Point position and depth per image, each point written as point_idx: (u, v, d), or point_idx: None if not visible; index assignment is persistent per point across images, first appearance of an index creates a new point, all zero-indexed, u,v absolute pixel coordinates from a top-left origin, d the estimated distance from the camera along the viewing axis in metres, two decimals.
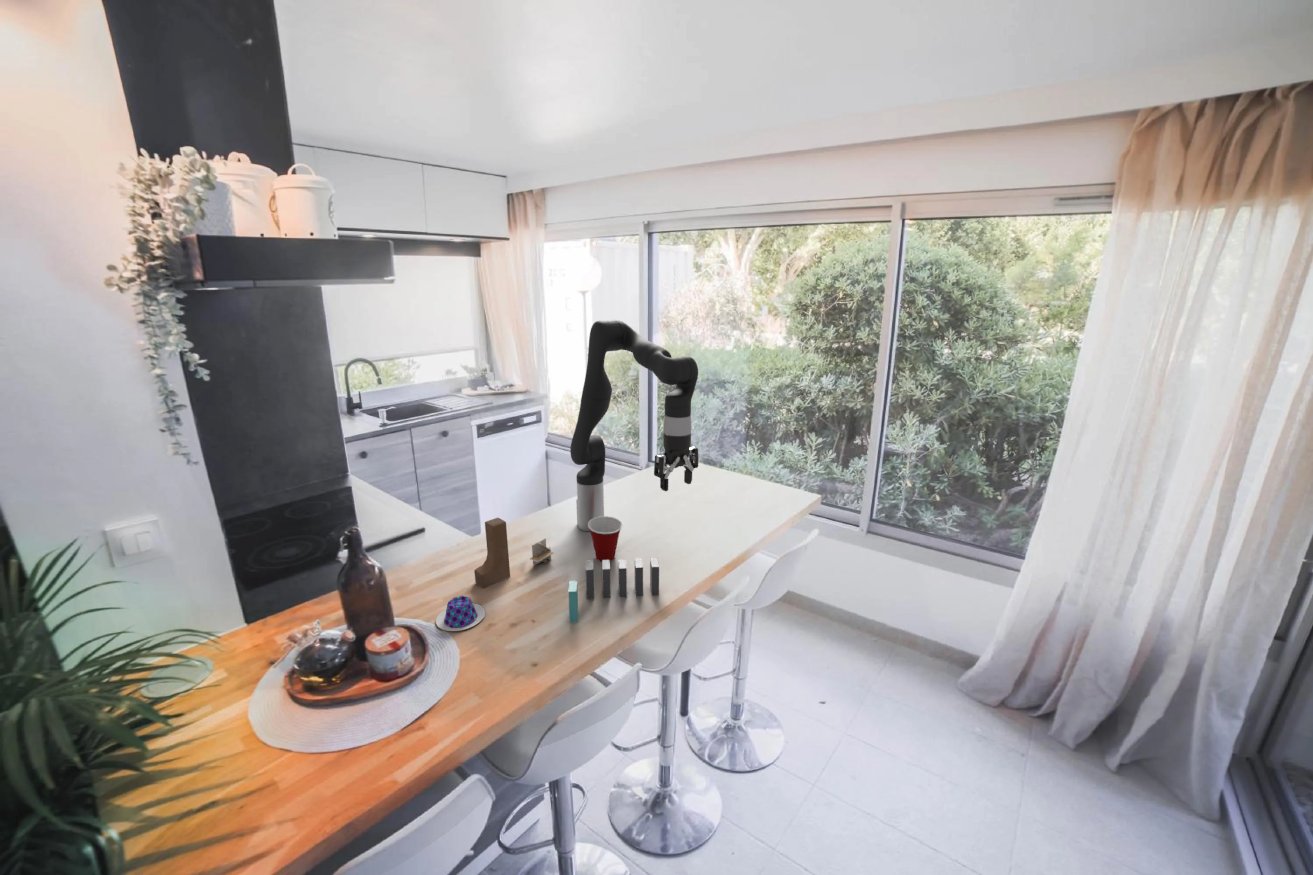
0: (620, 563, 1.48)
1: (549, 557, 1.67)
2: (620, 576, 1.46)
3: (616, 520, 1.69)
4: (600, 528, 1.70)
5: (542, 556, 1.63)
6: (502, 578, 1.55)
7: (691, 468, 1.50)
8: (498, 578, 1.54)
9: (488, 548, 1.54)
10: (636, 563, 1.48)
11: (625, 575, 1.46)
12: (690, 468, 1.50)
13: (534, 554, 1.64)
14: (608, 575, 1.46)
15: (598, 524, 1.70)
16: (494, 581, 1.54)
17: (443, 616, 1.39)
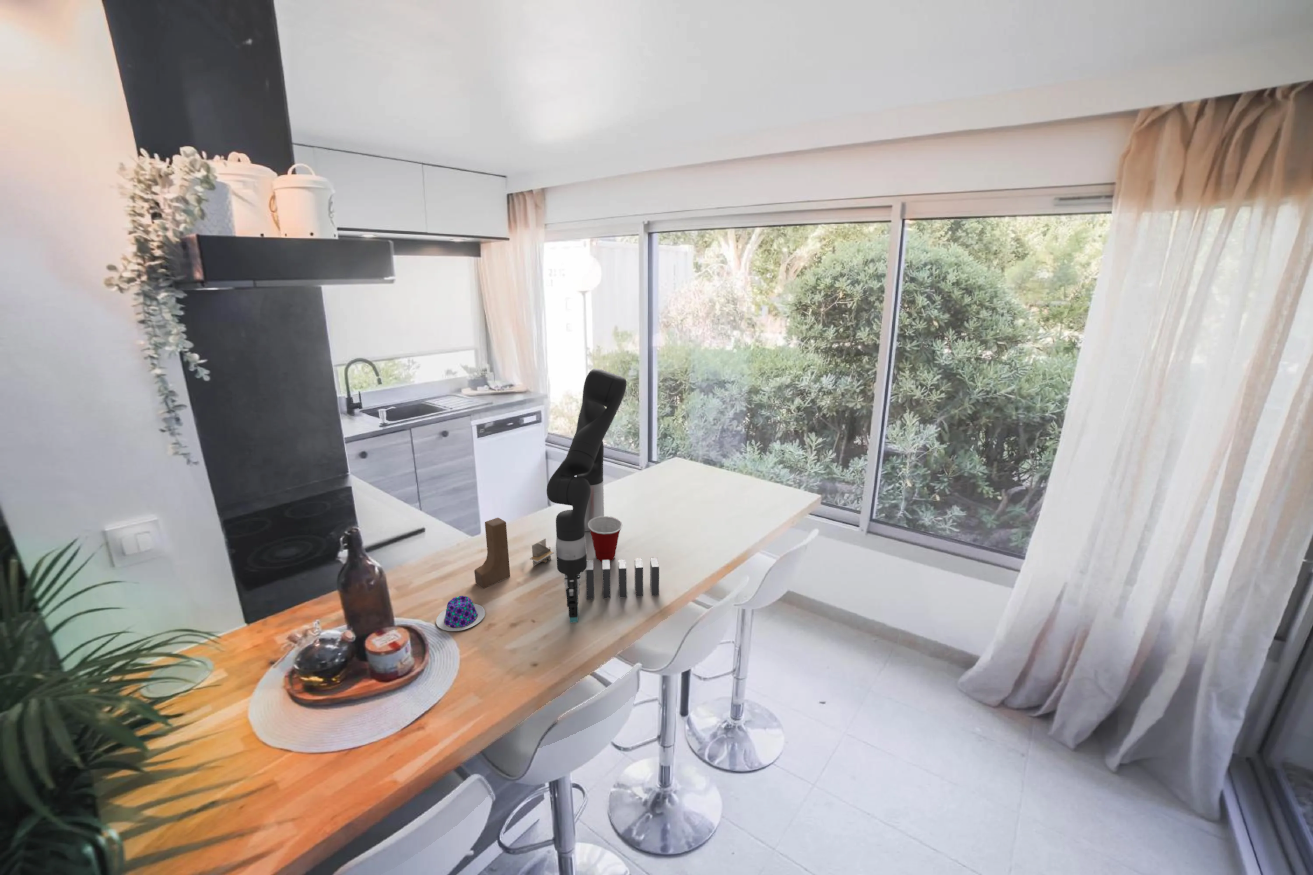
0: (620, 563, 1.48)
1: (549, 557, 1.67)
2: (620, 576, 1.46)
3: (616, 520, 1.69)
4: (600, 528, 1.70)
5: (542, 556, 1.63)
6: (502, 578, 1.55)
7: None
8: (498, 578, 1.54)
9: (488, 548, 1.54)
10: (636, 563, 1.48)
11: (625, 575, 1.46)
12: None
13: (534, 554, 1.64)
14: (608, 575, 1.46)
15: (598, 524, 1.70)
16: (494, 581, 1.54)
17: (443, 617, 1.39)
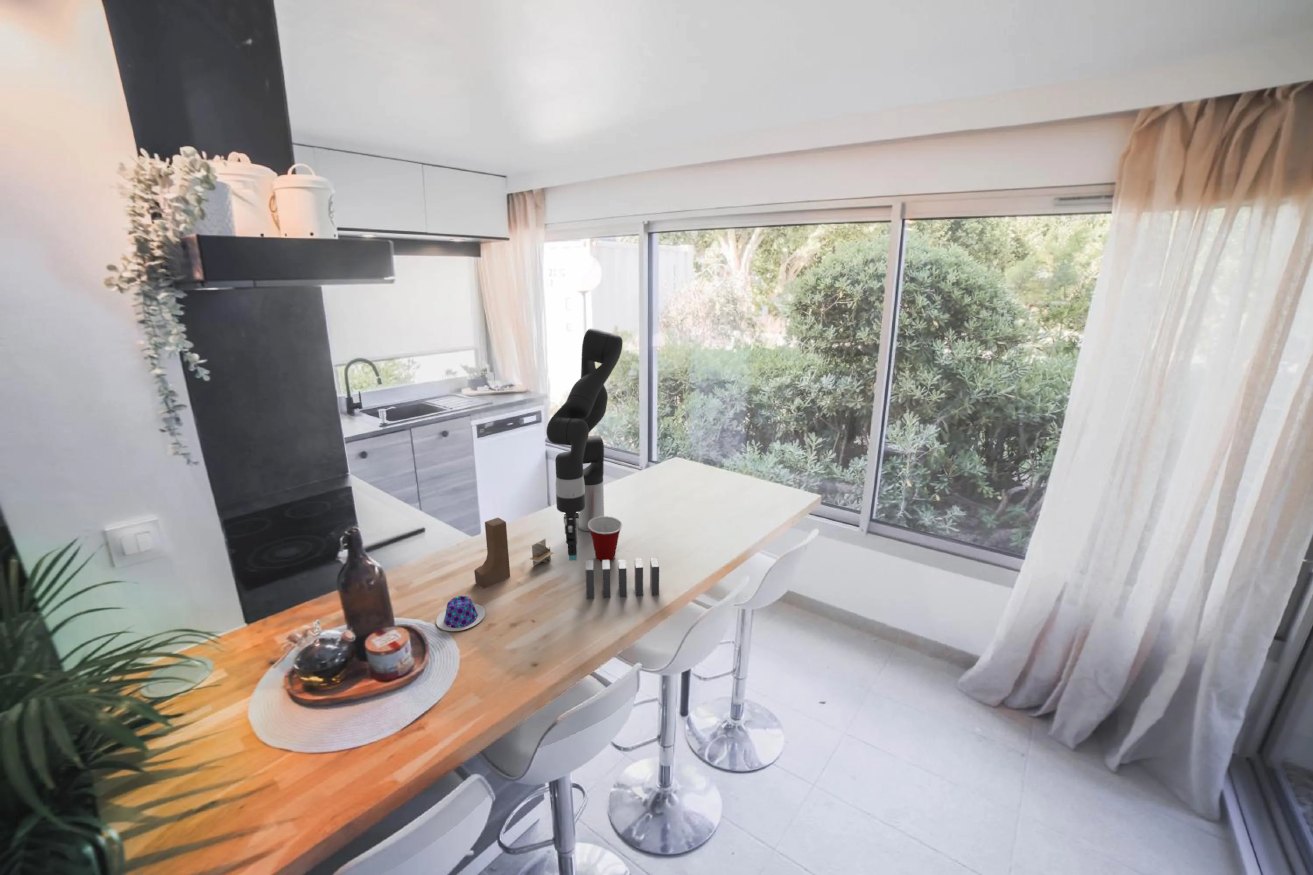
0: (620, 563, 1.48)
1: (549, 557, 1.67)
2: (620, 576, 1.46)
3: (616, 520, 1.69)
4: (600, 528, 1.70)
5: (542, 556, 1.63)
6: (502, 578, 1.55)
7: None
8: (498, 578, 1.54)
9: (488, 548, 1.54)
10: (636, 563, 1.48)
11: (625, 575, 1.46)
12: None
13: (534, 554, 1.63)
14: (608, 575, 1.46)
15: (598, 524, 1.70)
16: (494, 581, 1.54)
17: (442, 617, 1.38)
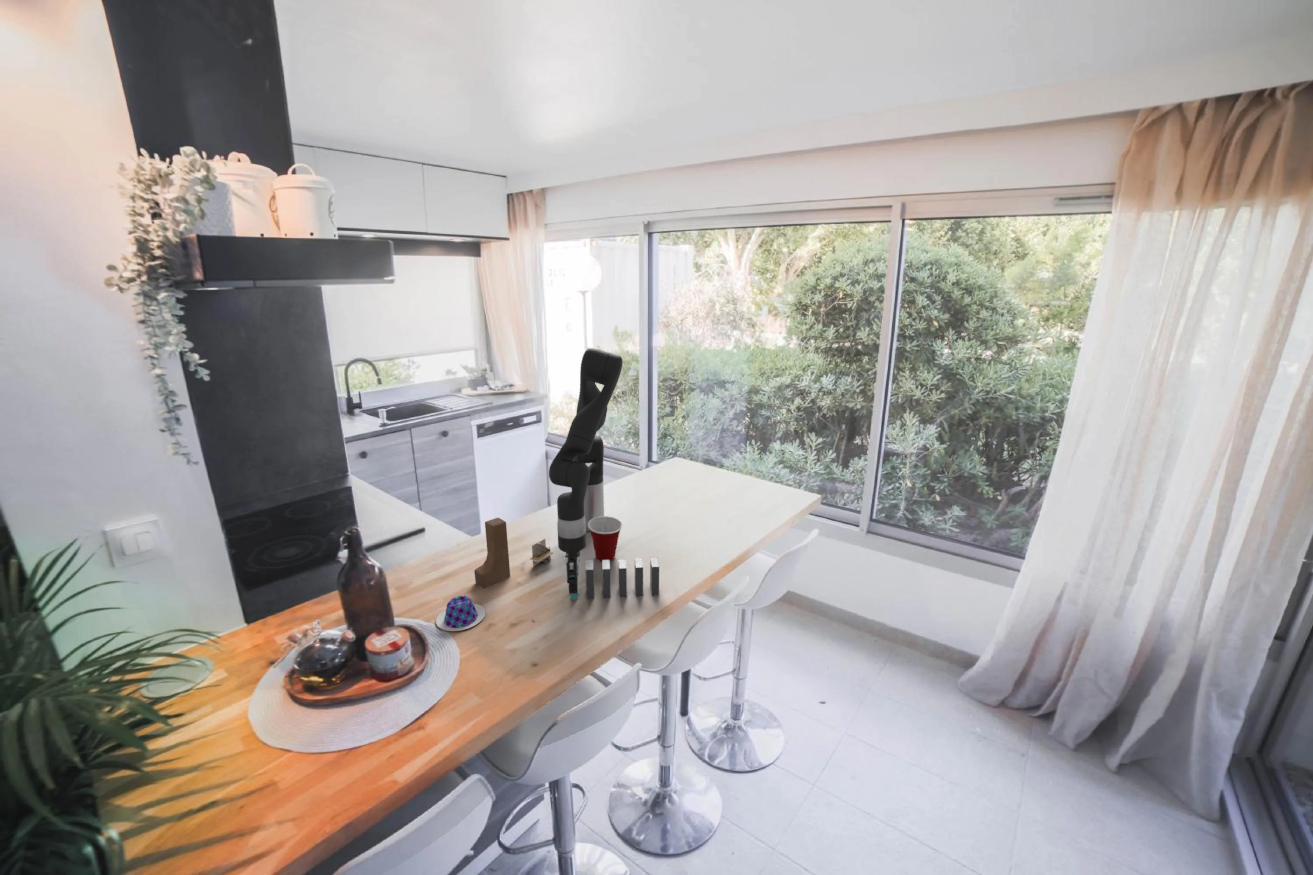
0: (620, 563, 1.48)
1: (549, 557, 1.67)
2: (620, 576, 1.46)
3: (616, 520, 1.69)
4: (600, 528, 1.70)
5: (542, 556, 1.63)
6: (502, 578, 1.55)
7: None
8: (498, 578, 1.54)
9: (488, 548, 1.54)
10: (636, 563, 1.48)
11: (625, 575, 1.46)
12: None
13: (534, 554, 1.63)
14: (608, 575, 1.46)
15: (598, 524, 1.70)
16: (494, 581, 1.54)
17: (442, 618, 1.38)
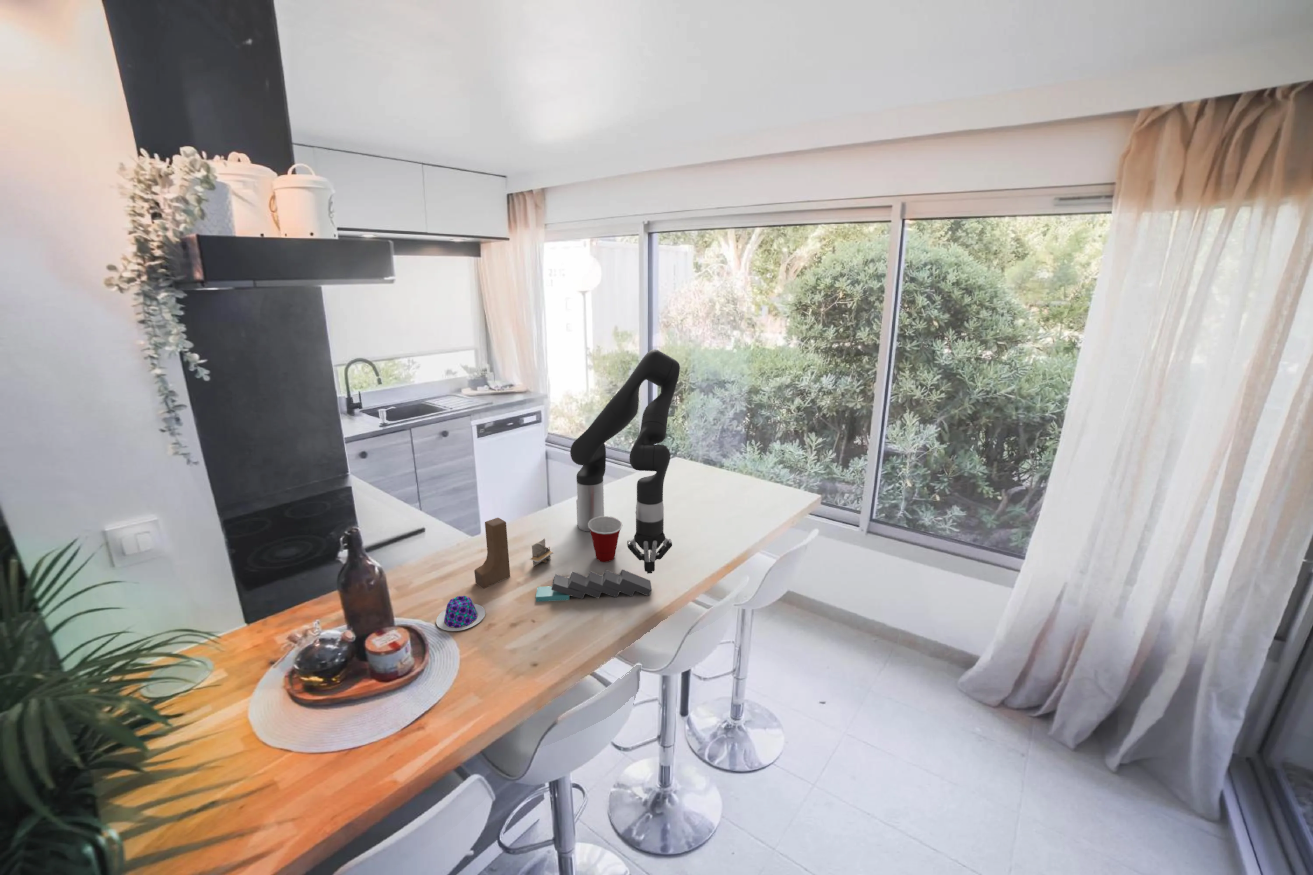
0: (587, 579, 1.49)
1: (548, 557, 1.67)
2: (595, 588, 1.47)
3: (616, 520, 1.69)
4: (600, 528, 1.70)
5: (542, 556, 1.63)
6: (502, 578, 1.55)
7: None
8: (498, 578, 1.54)
9: (488, 548, 1.54)
10: (603, 579, 1.49)
11: (596, 584, 1.46)
12: None
13: (534, 554, 1.63)
14: (578, 584, 1.46)
15: (598, 524, 1.70)
16: (494, 581, 1.54)
17: (441, 620, 1.37)
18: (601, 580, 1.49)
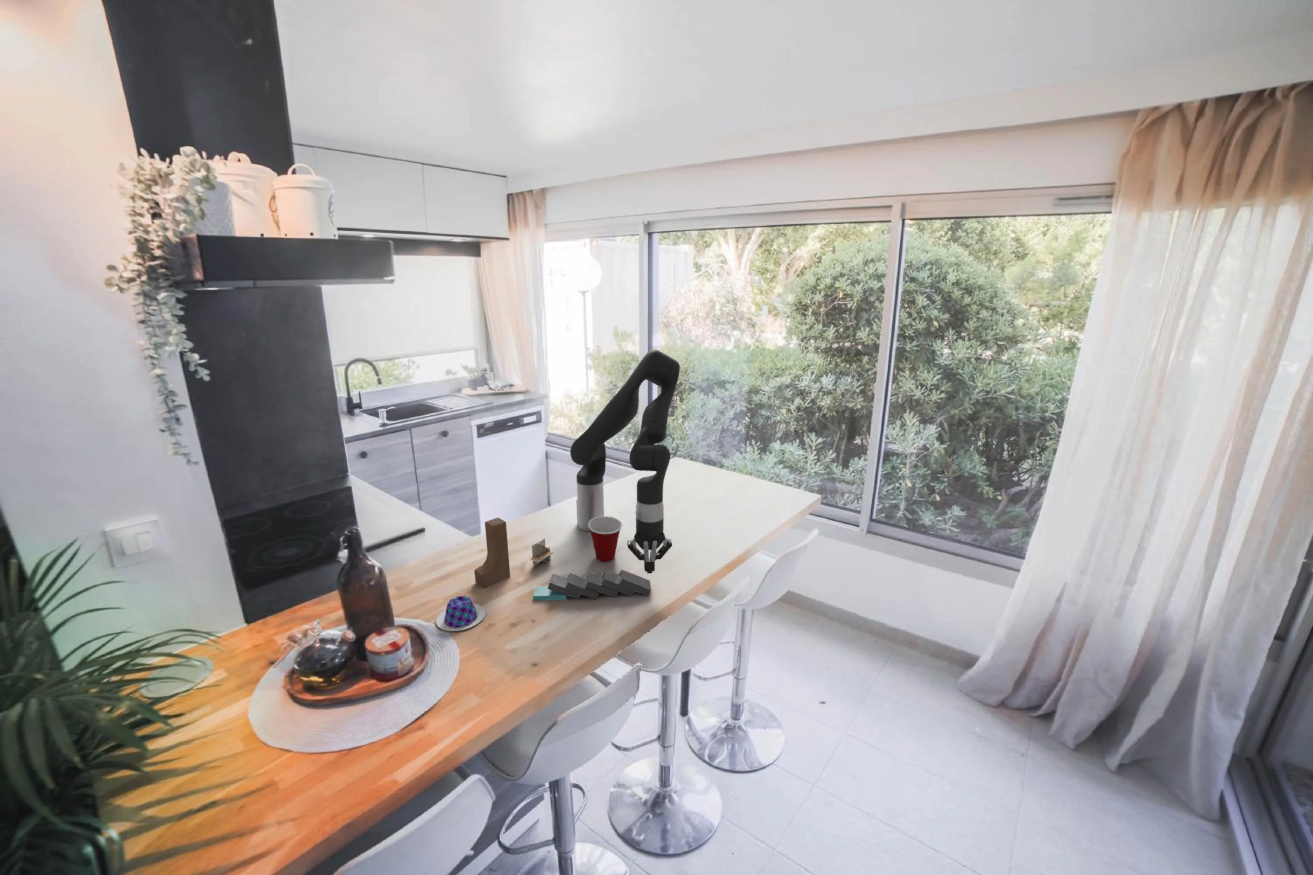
0: (586, 580, 1.49)
1: (548, 557, 1.67)
2: (594, 589, 1.47)
3: (616, 520, 1.69)
4: (600, 528, 1.70)
5: (542, 556, 1.63)
6: (502, 578, 1.55)
7: None
8: (498, 578, 1.54)
9: (488, 548, 1.54)
10: (602, 579, 1.49)
11: (595, 584, 1.46)
12: None
13: (534, 554, 1.63)
14: (574, 586, 1.45)
15: (598, 524, 1.70)
16: (494, 581, 1.54)
17: (441, 620, 1.37)
18: (600, 580, 1.49)
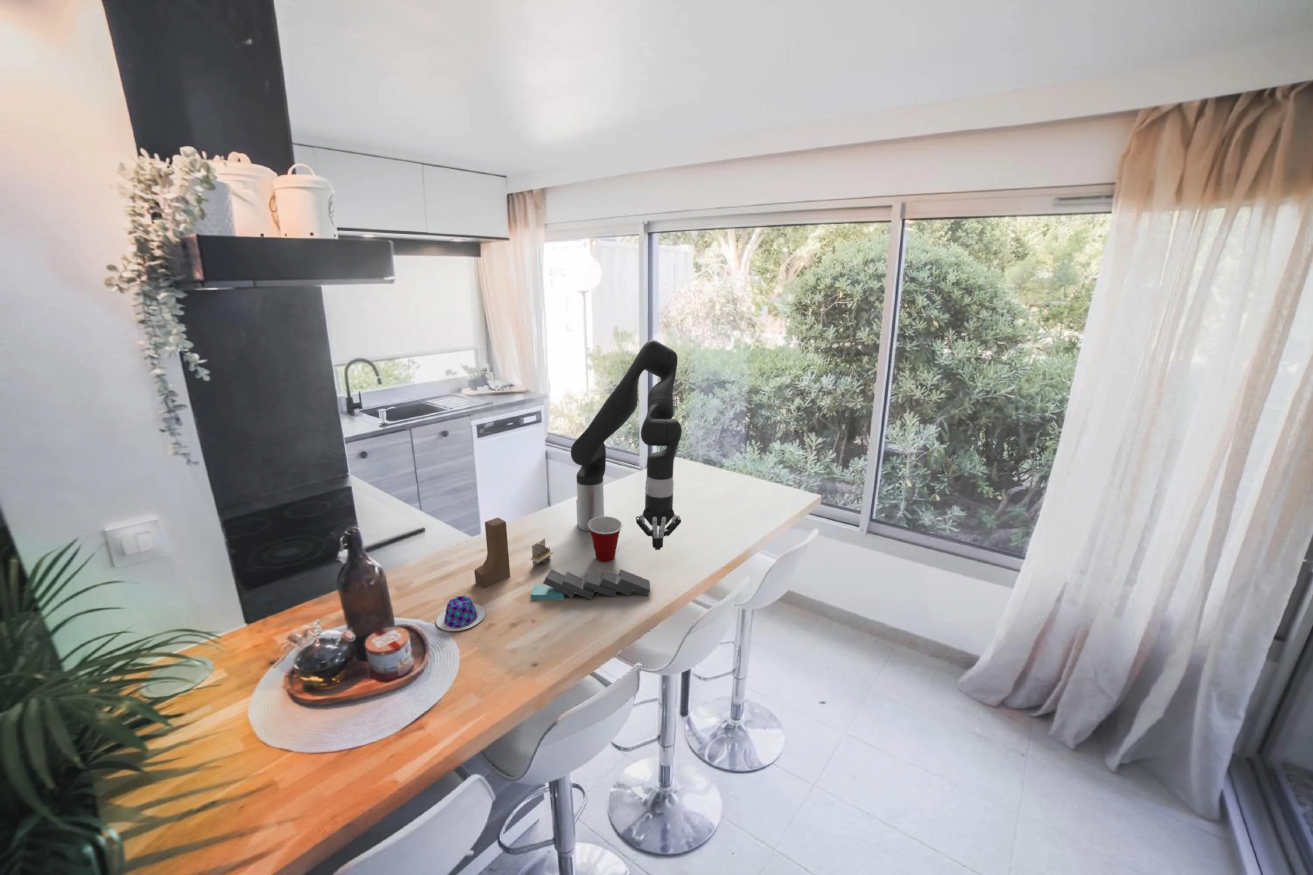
0: (584, 580, 1.49)
1: (548, 557, 1.67)
2: (592, 588, 1.47)
3: (616, 520, 1.69)
4: (600, 528, 1.70)
5: (542, 556, 1.63)
6: (502, 578, 1.55)
7: None
8: (498, 578, 1.54)
9: (488, 548, 1.54)
10: None
11: (593, 584, 1.47)
12: None
13: (534, 554, 1.63)
14: (570, 584, 1.46)
15: (598, 524, 1.70)
16: (494, 581, 1.54)
17: (441, 620, 1.37)
18: (598, 580, 1.49)
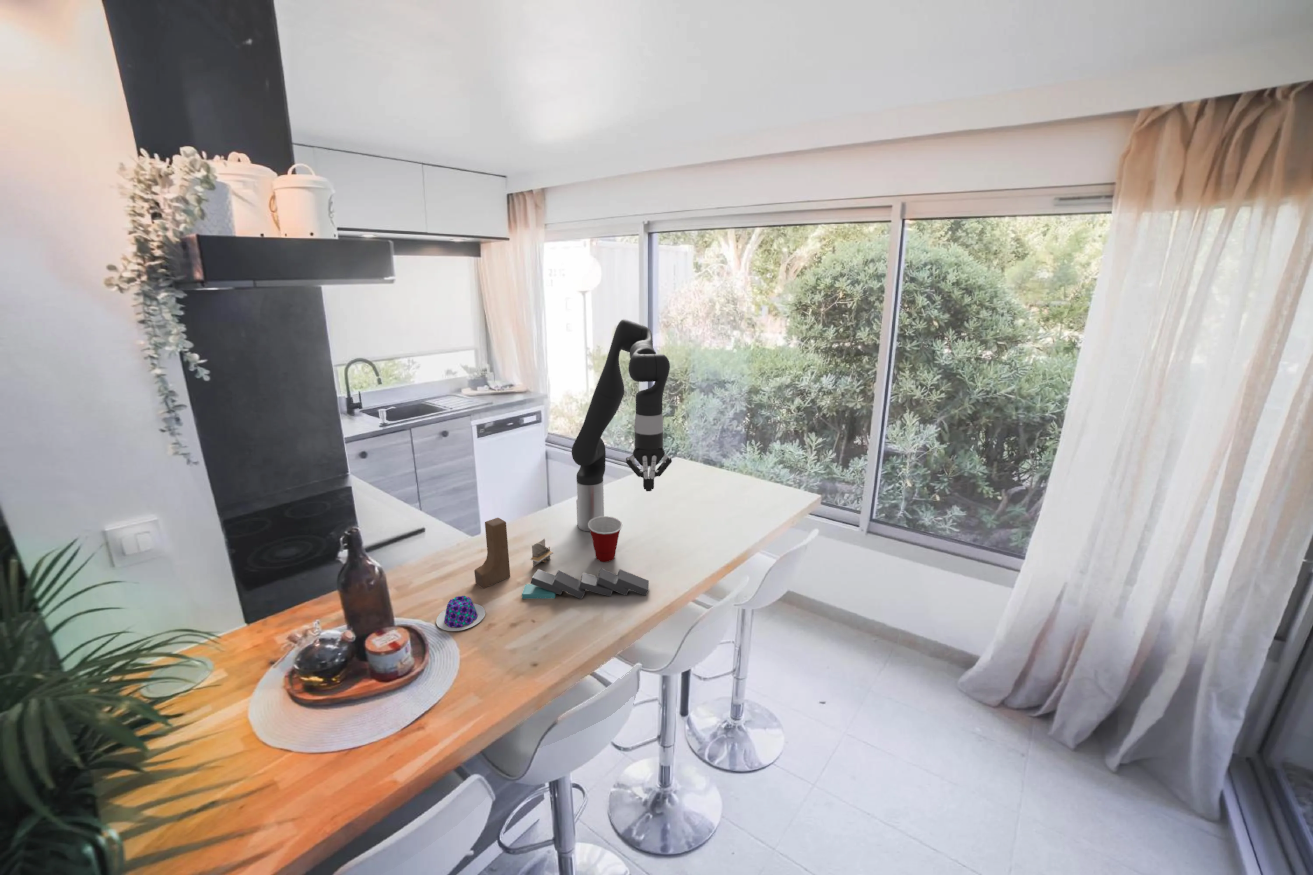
0: (580, 581, 1.50)
1: (548, 557, 1.67)
2: (588, 589, 1.48)
3: (616, 520, 1.69)
4: (600, 528, 1.70)
5: (542, 556, 1.63)
6: (502, 578, 1.55)
7: None
8: (498, 578, 1.54)
9: (488, 548, 1.54)
10: None
11: (588, 584, 1.47)
12: None
13: (534, 554, 1.63)
14: (561, 583, 1.46)
15: (598, 524, 1.70)
16: (494, 581, 1.54)
17: (441, 621, 1.37)
18: (594, 580, 1.49)
